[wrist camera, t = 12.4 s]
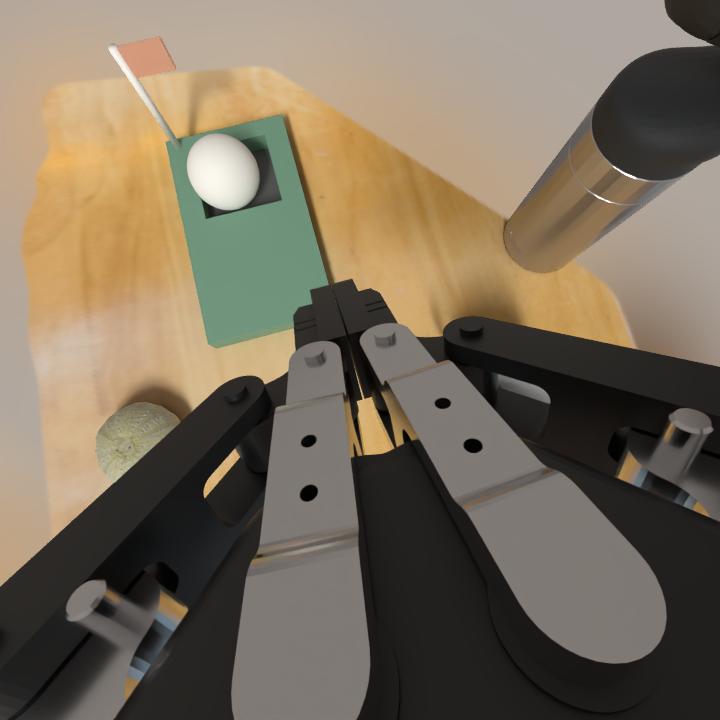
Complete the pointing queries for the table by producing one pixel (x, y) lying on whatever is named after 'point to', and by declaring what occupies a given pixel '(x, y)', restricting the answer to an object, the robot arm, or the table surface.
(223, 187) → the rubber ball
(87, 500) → the table surface
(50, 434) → the table surface
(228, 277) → the putting board
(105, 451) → the sea urchin shell
